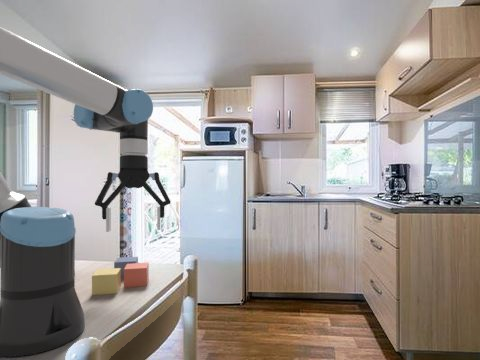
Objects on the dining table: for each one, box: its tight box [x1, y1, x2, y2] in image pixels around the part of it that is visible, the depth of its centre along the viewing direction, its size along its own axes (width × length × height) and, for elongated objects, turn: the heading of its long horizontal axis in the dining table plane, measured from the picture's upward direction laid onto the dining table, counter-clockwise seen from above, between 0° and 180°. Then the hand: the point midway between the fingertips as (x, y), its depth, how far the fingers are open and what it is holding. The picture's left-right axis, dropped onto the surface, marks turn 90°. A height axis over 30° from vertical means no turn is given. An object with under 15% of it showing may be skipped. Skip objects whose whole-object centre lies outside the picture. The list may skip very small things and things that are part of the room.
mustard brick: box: [91, 267, 122, 296], centre depth 84 cm, size 6×6×5 cm
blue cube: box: [113, 256, 139, 279], centre depth 97 cm, size 6×6×5 cm
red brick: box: [123, 262, 150, 288], centre depth 90 cm, size 6×6×5 cm
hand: (134, 230), depth 90 cm, fingers open, 13 cm apart
